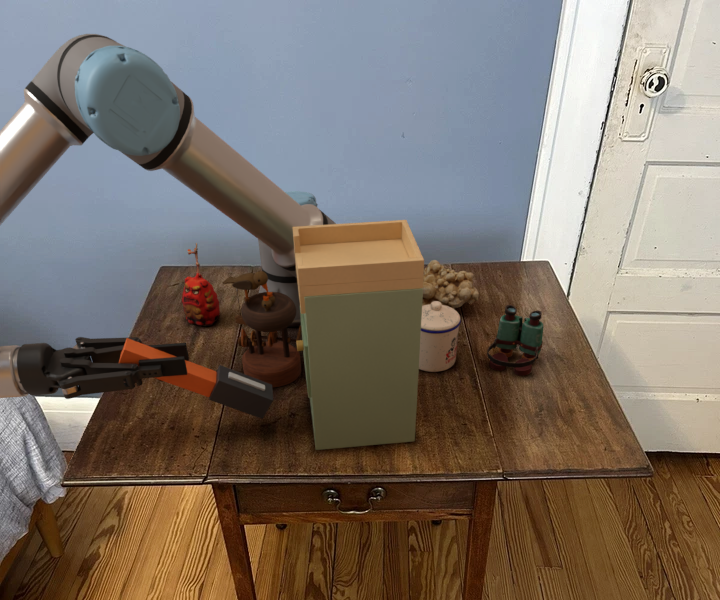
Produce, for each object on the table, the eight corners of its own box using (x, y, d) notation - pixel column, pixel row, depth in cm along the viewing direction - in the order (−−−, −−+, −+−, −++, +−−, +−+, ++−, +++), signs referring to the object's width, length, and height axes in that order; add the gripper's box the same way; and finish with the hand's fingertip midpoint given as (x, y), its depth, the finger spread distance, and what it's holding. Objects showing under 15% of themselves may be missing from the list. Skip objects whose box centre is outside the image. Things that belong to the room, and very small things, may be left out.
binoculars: (485, 328, 116) (503, 297, 122) (481, 377, 124) (497, 345, 130) (537, 339, 113) (552, 307, 119) (529, 388, 121) (544, 355, 127)
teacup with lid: (455, 375, 123) (461, 317, 115) (405, 371, 124) (407, 314, 116) (458, 340, 132) (464, 285, 124) (411, 337, 133) (414, 282, 125)
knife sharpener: (121, 351, 102) (130, 328, 100) (262, 403, 112) (273, 382, 109) (117, 367, 99) (126, 343, 97) (262, 419, 109) (274, 398, 106)
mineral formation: (429, 284, 149) (493, 296, 142) (400, 319, 142) (465, 334, 136) (426, 251, 143) (492, 262, 136) (395, 286, 136) (464, 300, 130)
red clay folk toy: (178, 324, 138) (163, 253, 128) (196, 308, 143) (182, 238, 132) (211, 330, 136) (198, 258, 126) (228, 314, 141) (217, 243, 130)
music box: (229, 388, 121) (213, 279, 109) (242, 359, 130) (228, 255, 117) (314, 390, 120) (307, 280, 108) (321, 361, 129) (316, 256, 116)
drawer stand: (301, 399, 118) (286, 226, 97) (400, 391, 120) (406, 219, 99) (306, 451, 108) (290, 269, 87) (414, 441, 109) (424, 260, 89)
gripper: (1, 380, 91) (177, 367, 93) (29, 320, 103) (185, 309, 105) (20, 424, 97) (187, 410, 99) (45, 362, 108) (193, 351, 110)
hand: (186, 358), depth 102 cm, fingers closed on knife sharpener, 3 cm apart
